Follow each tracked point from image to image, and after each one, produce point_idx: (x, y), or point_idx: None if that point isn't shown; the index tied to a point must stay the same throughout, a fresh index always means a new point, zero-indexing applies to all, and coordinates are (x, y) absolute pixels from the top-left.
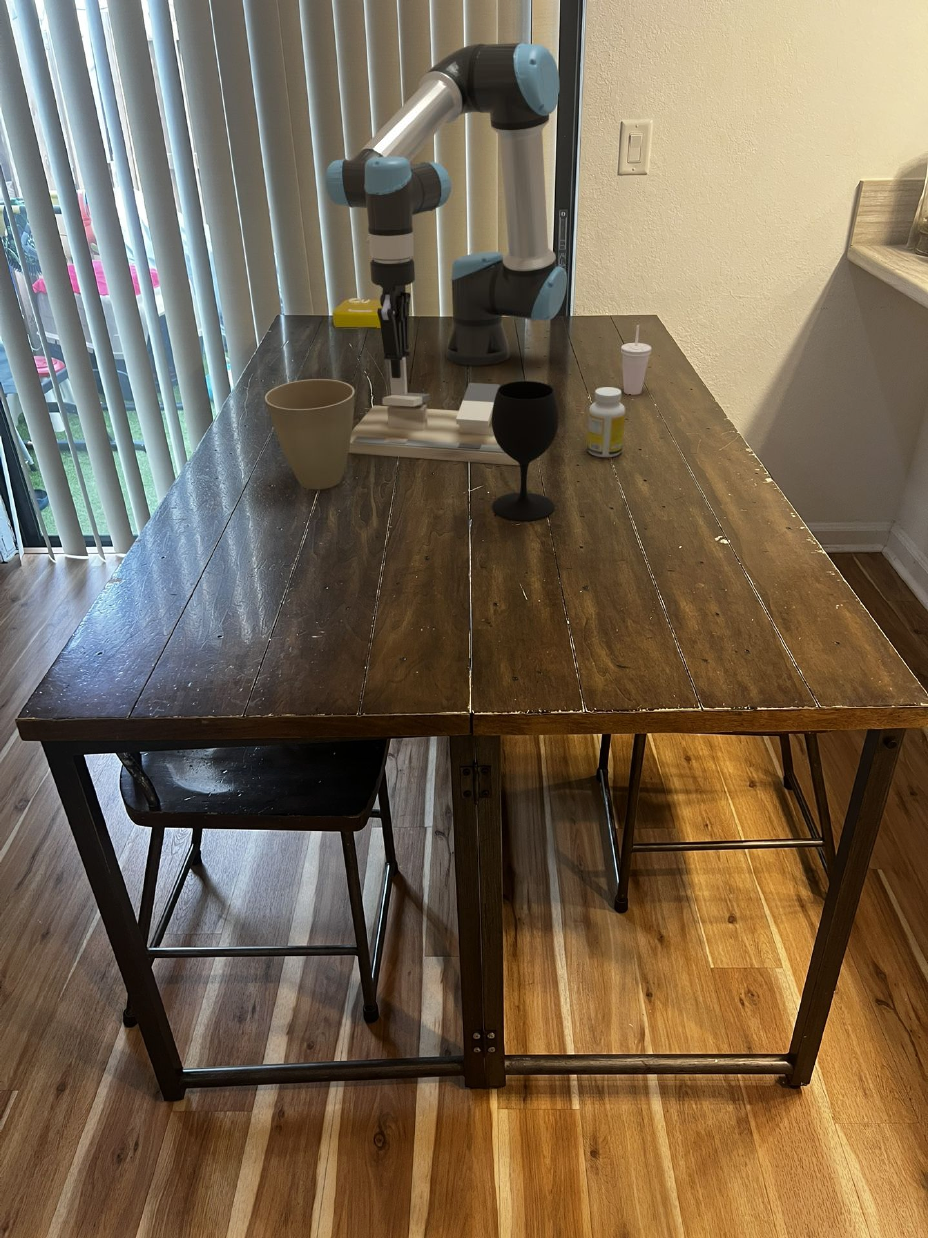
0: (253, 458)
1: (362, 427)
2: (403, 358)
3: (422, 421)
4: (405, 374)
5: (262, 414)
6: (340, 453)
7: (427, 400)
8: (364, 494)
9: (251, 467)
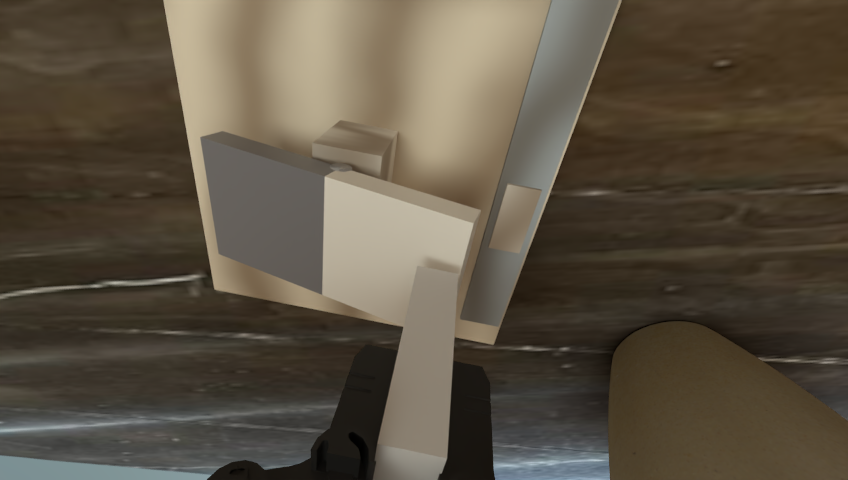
0: (508, 451)
1: None
2: (410, 454)
3: (391, 144)
4: (421, 342)
5: (289, 448)
6: (815, 397)
7: (256, 142)
8: (803, 265)
9: (553, 452)
